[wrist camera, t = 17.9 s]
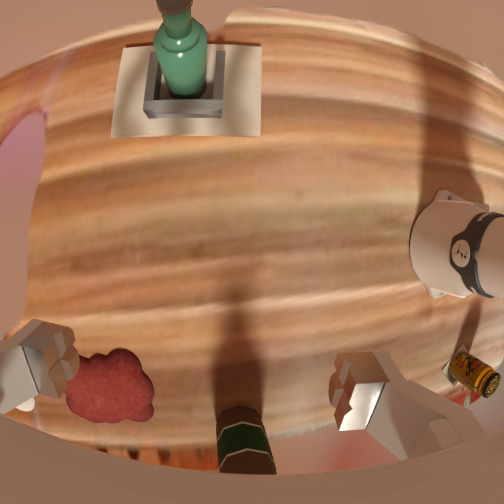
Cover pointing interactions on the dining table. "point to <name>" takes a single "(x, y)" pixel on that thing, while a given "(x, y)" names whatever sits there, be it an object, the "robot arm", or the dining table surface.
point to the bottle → (181, 50)
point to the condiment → (471, 373)
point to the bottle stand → (189, 110)
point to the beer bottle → (243, 443)
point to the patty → (111, 389)
